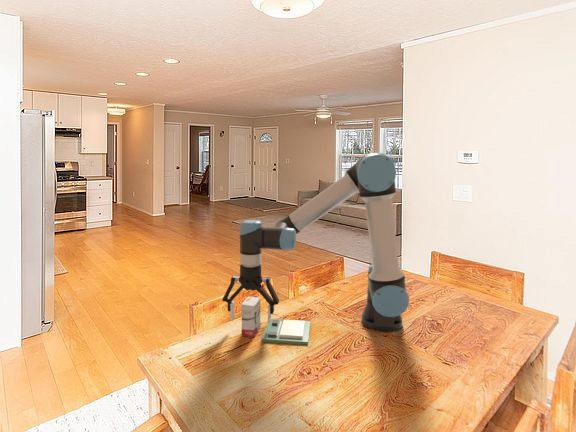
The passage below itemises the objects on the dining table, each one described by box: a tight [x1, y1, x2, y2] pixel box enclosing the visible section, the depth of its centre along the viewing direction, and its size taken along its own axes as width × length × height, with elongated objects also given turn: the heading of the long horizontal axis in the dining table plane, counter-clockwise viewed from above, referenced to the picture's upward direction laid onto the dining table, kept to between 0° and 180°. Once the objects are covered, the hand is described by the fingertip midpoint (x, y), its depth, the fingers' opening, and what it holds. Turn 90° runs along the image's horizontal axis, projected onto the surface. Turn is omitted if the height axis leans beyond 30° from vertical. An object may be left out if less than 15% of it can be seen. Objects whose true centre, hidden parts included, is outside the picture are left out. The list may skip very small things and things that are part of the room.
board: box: [260, 318, 311, 346], centre depth 138 cm, size 16×16×2 cm
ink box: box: [241, 296, 261, 338], centre depth 137 cm, size 9×5×12 cm, turn 168°
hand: (250, 320), depth 138 cm, fingers open, 13 cm apart
